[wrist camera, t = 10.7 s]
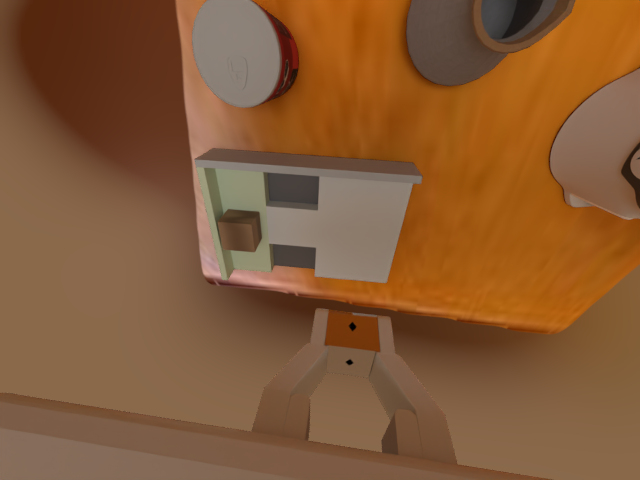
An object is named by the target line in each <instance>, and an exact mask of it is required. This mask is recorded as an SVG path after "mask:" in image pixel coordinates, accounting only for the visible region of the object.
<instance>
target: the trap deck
mask: <svg viewBox="0 0 640 480" xmlns="http://www.w3.org/2000/svg"><path fill="white" fill-rule="evenodd" d="M195 164H196V168H197V172H198V177H199V181H200V185H201V190H202V194H203V198H204V203H205V207H206V211H207V216H208V220H209V224H210V229H211V233H212V237H213V242H214V246H215V250H216V255H217V259H218V263H219V268H220V272H221V276H222V280H228V279H229V277H230V275H231V274H232V272H233V270H234V269H240V270H250V271H261V272H272V270H273V267H274V265H278V266H289V267H300V268H311V269H315V277H326V278H337V279H348V280H358V281H369V282H380V283H387V279H388V276H389V272H390V268H391V264H392V261H393V257H394V253H395V249H396V246H397V242H398V238H399V234H400V231H401V227H402V223H403V219H404V216H405V212H406V208H407V204H408V201H409V197H410V193H411V189H412V186H413V183H414V184H421V181H422V177H423V176H422V175H421V173H420V172H419V170H418V169H417V168H416V166H415V165H414V163H410V162H397V161H383V160H369V159H355V158H341V157H327V156H313V155H299V154H285V153H272V152H258V151H244V150H230V149H216V148H213V149H211V150H209V151H208V152H206V153H204V154H203V155H201V156H199V157H198V158H196V159H195ZM228 209H233V210H246V211H258V212H259V213H260V223H261V233H262V239H261V241H260V243H259V245H258V247H257V249H256V251H255V252H244V251H233V250H223V246H222V241H221V237H220V232H219V227H218V220H219V219H220V218H221V217H222V216H223V214H224V213H225V212H226V211H227V210H228Z"/></svg>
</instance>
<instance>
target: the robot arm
mask: <svg viewBox="0 0 640 480" xmlns="http://www.w3.org/2000/svg"><path fill="white" fill-rule="evenodd" d="M550 167H551V171H552V174H553V176H554V178H555V179H556V180H557V182H558V183H559V184H560V185H561V186H562V187H563V189H564V198H565V202H566V203H567V204H568V205H570V206H572V207H588V206H596V207H598V208H601V209H603V210H605V211H607V212H609V213H612V214H614V215H616V216H618V217H620V218H623V219H627V220H631V219H633V218H637V219H640V68H639V69H637V70H635V71H634V72H632V73H630V74H628V75H626V76H623V77H621V78H619V79H617V80H615V81H613V82H612V83H610V84H608V85H606V86H605V87H603V88H602V89H600V90H599V91H597V92H596V93H594V94H593V95H592V96H591V97H589V98H588V99H587V100H586V101H585V102H583V103H582V104H581V105H580V106H579V107H578V108H577V109H576V110H575V111H574V112H573V114H572V115H571V116H570V117H569V118H568V120H567V121H566V122H565V124H564V125H563V127H562V128H561V130H560V131H559V133H558V135H557V137H556V139H555V141H554V144H553V147H552V150H551V155H550ZM328 312H329V313H328ZM326 373H335V374H343V375H351V376H358V377H363V378H369V381H370V383H371V385H372V387H373V388H374V390H375V392H376V394H377V396H378V398H379V400H380V402H381V403H382V405H383V407H384V409H385V411H386V413H387V415H388V417H389V419H390V420H391V421H390V424H389V425H388V428H387V430H386V432H385V434H384V436H383V439H382V452H376V451H370V450H363V449H357V448H351V447H345V446H338V445H332V444H326V443H320V442H313V441H308V438H309V430H310V429H309V428H310V399H309V398H310V396H311V395H312V393H313V392H314V391H315V389H316V388H317V386H318V385H319V384H320V382H321V381H322V379H323V378H324V376H325V375H326ZM0 480H552V479H545V478H539V477H533V476H527V475H520V474H514V473H508V472H501V471H495V470H489V469H483V468H476V467H469V466H464V465H458V464H457V460H456V456H455V453H454V449H453V445H452V441H451V437H450V433H449V429H448V425H447V421H446V417H445V414H444V413H443V411H442V410H441V409H440V407H439V406H438V405H437V404H436V402H435V401H434V400H433V399H432V397H431V396H430V394H429V393H428V392H427V390H426V389H425V388H424V387H423V385H422V384H421V383H420V381H418V379H417V378H416V376H415V375H414V374H413V372H412V371H411V370H410V369H409V367H408V366H407V364H406V363H405V362H404V361H403V359H402V358H401V357H400V356H399V355H395V348H394V341H393V333H392V326H391V319H390V318H389V317H386V316H376V315H370V314H360V313H348V312H341V311H334V310H326V309H316V312H315V317H314V323H313V330H312V335H311V341H310V344H309V343H306V344H305V345H304V346H303V347H302V348H301V350H300V351H299V352H298V353H297V354H296V355H295V356H294V357H293V358H292V359H291V360H290V361H289V362H288V363H287V365H285V366H284V367H283V369H282V370H281V371H280V372H279V373H278V374H277V375H276V376H275V377H274V378H273V379H272V380H271V381H270V382H269V383H268V384H267V386H266V387H265V388H264V390H263V394H262V397H261V401H260V404H259V407H258V411H257V414H256V418H255V421H254V424H253V428H252V431H251V432H250V431H244V430H238V429H232V428H225V427H218V426H213V425H206V424H199V423H193V422H187V421H181V420H175V419H169V418H162V417H156V416H150V415H143V414H137V413H130V412H125V411H118V410H112V409H106V408H99V407H93V406H86V405H80V404H74V403H68V402H61V401H55V400H48V399H42V398H36V397H30V396H24V395H18V394H13V393H0Z"/></svg>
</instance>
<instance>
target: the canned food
mask: <svg viewBox="0 0 640 480" xmlns="http://www.w3.org/2000/svg"><path fill="white" fill-rule="evenodd" d="M192 46H193V53H194V58H195V61H196V65H197V67H198V70H199V72H200V74H201V76H202V78H203V80H204V81H205V83H206V85H207V86H208V87H209V88H210V89H211V91H212V92H213V93H214V94H215V95H216V96H217V97H219V98H220V99H221V100H223V101H224V102H226V103H228V104H230V105H233V106H236V107H242V108H247V107H254V106H257V105H260V104H263V103H265V102H268V101H270V100H272V99H274V98H277V97H279V96H281V95H283V94H284V93H286V92H287V91H288V90H289V89H290V88H291V86H292V84H293V83H294V81H295V78H296V76H297V71H298V61H299V60H298V51H297V47H296V43H295V41H294V39H293V36H292V35H291V33H290V31H289V30H288V28H287V27H286V26H285V25H284V24H283V23H282V22H281V21H279V20H278V19H277V18H275V17H274V16H273V15H271V14H270V13H269V12H267V11H266V10H265V9H263V8H262V7H261V6H259V5H258V4H257V3H255V2H254V1H252V0H207V1H206V2H205V3H204V4H203V5H202V7H201V8H200V10H199V11H198V14H197V16H196V19H195V21H194V26H193V32H192Z"/></svg>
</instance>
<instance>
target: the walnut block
mask: <svg viewBox="0 0 640 480" xmlns="http://www.w3.org/2000/svg"><path fill="white" fill-rule="evenodd" d="M218 227H219V232H220V237H221V241H222V246H223V250H233V251H244V252H255V251H256V249H257V247H258V245H259V243H260V241H261V239H262V233H261V223H260V213H259V212H258V211H246V210H233V209H228V210H227V211H226V212H225V213H224V214H223V216H222V217H221V218H220V219H219V220H218Z"/></svg>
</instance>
